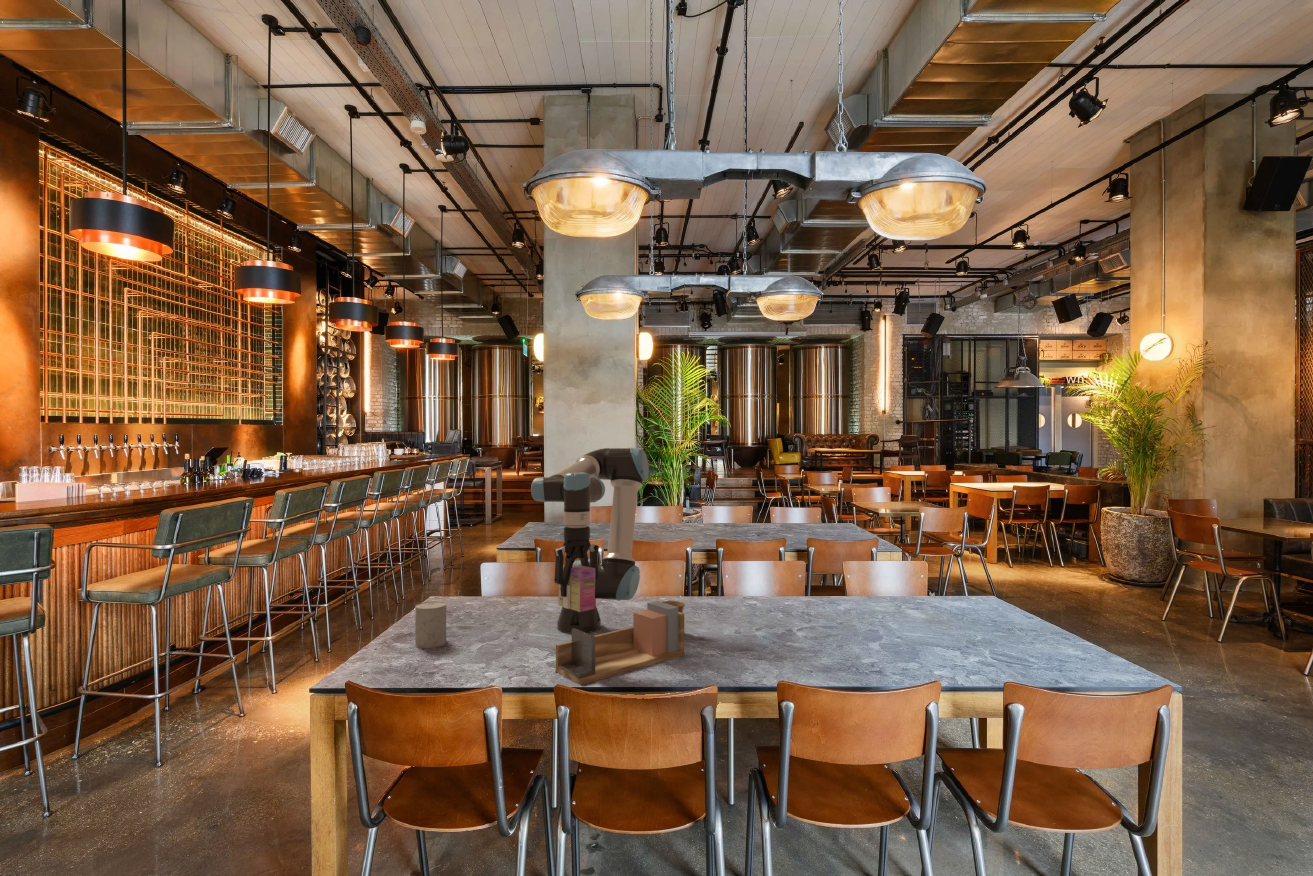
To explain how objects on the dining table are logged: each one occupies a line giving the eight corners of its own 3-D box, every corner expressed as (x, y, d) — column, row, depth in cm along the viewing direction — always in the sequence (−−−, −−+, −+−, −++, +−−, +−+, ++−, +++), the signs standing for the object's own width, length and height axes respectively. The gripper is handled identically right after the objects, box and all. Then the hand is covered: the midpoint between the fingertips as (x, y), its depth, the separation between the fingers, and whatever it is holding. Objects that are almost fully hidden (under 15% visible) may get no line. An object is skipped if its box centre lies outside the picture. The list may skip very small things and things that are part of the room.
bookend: (559, 668, 173) (559, 631, 173) (575, 663, 177) (575, 628, 177) (579, 678, 166) (579, 640, 166) (595, 673, 169) (595, 636, 169)
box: (595, 608, 179) (595, 567, 179) (579, 612, 175) (579, 570, 175) (573, 602, 186) (573, 562, 186) (558, 606, 182) (558, 565, 182)
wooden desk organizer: (555, 671, 175) (555, 626, 175) (656, 644, 199) (656, 605, 199) (581, 685, 165) (581, 637, 165) (684, 655, 189) (684, 613, 189)
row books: (633, 648, 190) (633, 605, 190) (657, 642, 196) (657, 600, 196) (654, 657, 182) (654, 612, 183) (678, 650, 189) (678, 607, 189)
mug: (661, 630, 215) (661, 600, 215) (686, 631, 213) (686, 601, 213) (654, 640, 203) (654, 609, 203) (680, 642, 201) (680, 610, 201)
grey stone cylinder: (453, 641, 203) (453, 603, 203) (430, 649, 194) (431, 610, 194) (430, 637, 207) (430, 600, 207) (408, 645, 198) (408, 606, 198)
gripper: (553, 529, 172) (553, 614, 172) (611, 524, 184) (611, 603, 183) (541, 527, 178) (541, 608, 178) (597, 522, 190) (597, 598, 189)
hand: (576, 605), depth 181 cm, fingers closed on box, 6 cm apart
